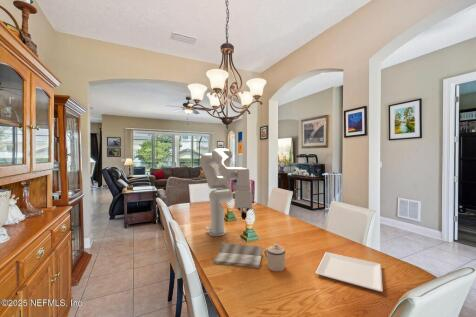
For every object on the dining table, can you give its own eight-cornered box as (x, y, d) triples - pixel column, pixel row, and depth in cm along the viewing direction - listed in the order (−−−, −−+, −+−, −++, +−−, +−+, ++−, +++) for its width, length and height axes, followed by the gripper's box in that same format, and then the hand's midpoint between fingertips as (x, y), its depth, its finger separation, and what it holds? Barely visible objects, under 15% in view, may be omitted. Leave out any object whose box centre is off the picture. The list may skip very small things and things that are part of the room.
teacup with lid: (289, 267, 109) (288, 244, 109) (278, 274, 103) (277, 249, 103) (270, 259, 118) (270, 237, 118) (259, 264, 112) (258, 242, 111)
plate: (382, 296, 87) (382, 291, 87) (315, 277, 101) (315, 272, 101) (380, 267, 109) (380, 263, 109) (325, 255, 123) (325, 251, 123)
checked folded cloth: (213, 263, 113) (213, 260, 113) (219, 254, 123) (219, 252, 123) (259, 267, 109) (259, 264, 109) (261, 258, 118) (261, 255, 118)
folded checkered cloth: (219, 253, 124) (219, 251, 124) (222, 245, 129) (221, 243, 129) (261, 257, 119) (261, 255, 119) (262, 248, 124) (262, 246, 124)
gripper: (229, 189, 129) (230, 220, 129) (254, 189, 126) (255, 221, 126) (232, 187, 136) (233, 216, 136) (256, 187, 133) (257, 217, 133)
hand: (244, 218), depth 131 cm, fingers closed
